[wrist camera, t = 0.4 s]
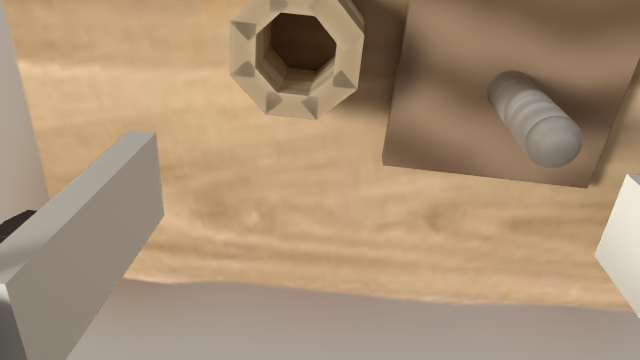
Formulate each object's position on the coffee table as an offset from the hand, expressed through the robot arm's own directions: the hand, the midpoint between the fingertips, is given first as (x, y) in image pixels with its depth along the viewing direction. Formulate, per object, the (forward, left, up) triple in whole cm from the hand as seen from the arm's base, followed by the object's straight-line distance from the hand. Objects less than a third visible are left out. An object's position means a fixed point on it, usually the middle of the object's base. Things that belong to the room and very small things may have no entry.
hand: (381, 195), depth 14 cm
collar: (+1, -5, -24) cm, 24 cm away
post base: (+3, +10, -24) cm, 26 cm away
